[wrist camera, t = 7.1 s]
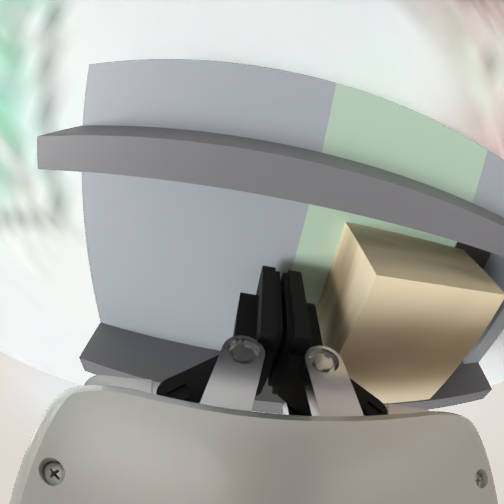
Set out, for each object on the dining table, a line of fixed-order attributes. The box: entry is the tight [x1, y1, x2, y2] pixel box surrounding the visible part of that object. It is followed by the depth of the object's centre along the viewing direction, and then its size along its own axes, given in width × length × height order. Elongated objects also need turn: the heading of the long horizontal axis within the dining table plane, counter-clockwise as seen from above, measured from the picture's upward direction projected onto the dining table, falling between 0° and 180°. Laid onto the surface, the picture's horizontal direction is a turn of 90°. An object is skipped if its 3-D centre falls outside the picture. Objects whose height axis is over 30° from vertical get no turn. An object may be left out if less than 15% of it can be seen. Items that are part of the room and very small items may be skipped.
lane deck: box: [37, 59, 504, 414], centre depth 13 cm, size 18×28×7 cm, turn 80°
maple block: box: [316, 222, 504, 404], centre depth 11 cm, size 7×7×4 cm
